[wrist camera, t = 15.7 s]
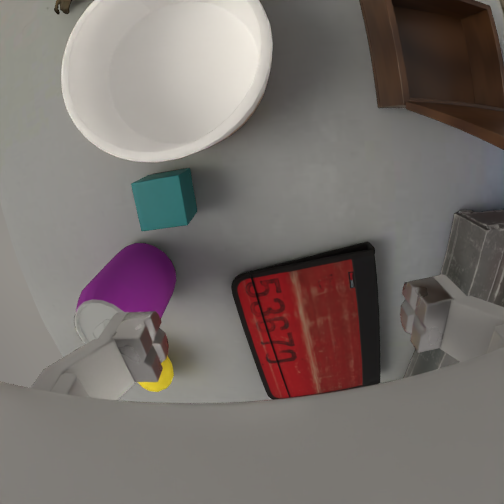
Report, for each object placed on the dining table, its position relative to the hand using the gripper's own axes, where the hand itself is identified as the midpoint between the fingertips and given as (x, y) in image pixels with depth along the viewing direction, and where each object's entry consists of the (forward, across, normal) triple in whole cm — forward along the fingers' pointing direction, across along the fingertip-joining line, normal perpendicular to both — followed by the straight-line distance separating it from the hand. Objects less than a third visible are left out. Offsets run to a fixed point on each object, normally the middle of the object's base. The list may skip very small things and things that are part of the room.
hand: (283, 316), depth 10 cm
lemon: (+23, +17, +20) cm, 35 cm away
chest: (+22, -19, -13) cm, 32 cm away
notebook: (+22, -4, +18) cm, 29 cm away
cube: (+22, +10, -1) cm, 25 cm away
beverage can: (+23, +15, +8) cm, 28 cm away
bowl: (+23, +7, -13) cm, 27 cm away
